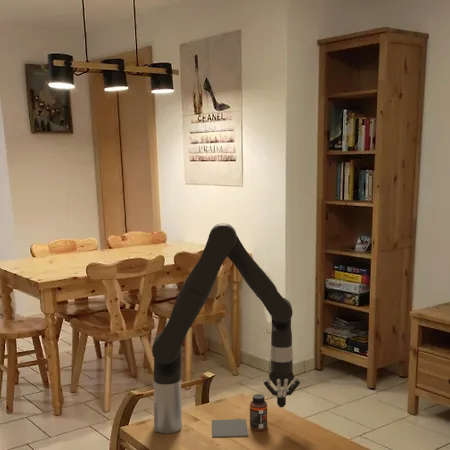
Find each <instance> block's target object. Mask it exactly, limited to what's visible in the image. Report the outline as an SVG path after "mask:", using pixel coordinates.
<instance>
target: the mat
mask: <svg viewBox="0 0 450 450" xmlns="http://www.w3.org/2000/svg"><path fill="white" fill-rule="evenodd" d="M211 432H212V433H211V435H212V438H214V439H216V438H240V437H241V438H244V437H247V438H248V437H249V432H248V424H247V419H246V418H236V419H235V418H233V419H230V418H229V419H211Z"/></svg>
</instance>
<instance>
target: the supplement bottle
mask: <svg viewBox="0 0 450 450" xmlns="http://www.w3.org/2000/svg"><path fill="white" fill-rule="evenodd" d="M249 426H250V429H251V430H252V431H255V432H256V431H257V432H263V431H265V430H267V428H268V403H267V401H266V400H265V395H264V394H261V393H255V394H253V395H252V400H251V401H250V403H249Z"/></svg>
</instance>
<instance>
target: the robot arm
mask: <svg viewBox="0 0 450 450" xmlns="http://www.w3.org/2000/svg"><path fill="white" fill-rule="evenodd" d="M227 258H228V259H229V260H230V261H231V263H232V264H233V265H234V266H235V268H236V269H237V271H238V272H239V274H240V276H241V277H242V279H243V280H244V281H245V283H246V284H247V286H248V287H249V288H250V290H251V291H252V292H253V293H254V294H255V296H256V297H257V298H258V299H259V300H260V302H261V303H262V304H263V306H264V307H265V309H266V311H267V312H268V314H269V315H270V316H271V335H270V340H271V341H270V355H269V356H270V357H269V358H270V359H269V361H270V364H269V365H270V373H269V374H268V377H267V378H264V379H263V380H262V381H263V385H264V386H265V387H266V389H267V390H268V391H269V392H270V393H271V395H272V396H273V397H274V396H276V404H277V406H278V407H279V408H284V407H285V406H286V405H287V404H286V403H287V402H286V401H287V399H286V398H287V397H288V396H291V395H292V394H293V393H294V392H295V391H296V389H297V388H298V387H299V386H300V384H301V382H300V379H299V378H298V377H295V374H294V373H293V372H294V371H293V367H294V363H293V361H294V359H293V358H294V357H293V333H292V331H293V330H292V317H293V307H292V304H291V302H290V301H289V300H288V299H287V298H284V297H283V295H282V294H280V292H279V291H278V288H277V287H276V284H274V282H273V281H272V280H271V278H270V277H269V276H268V275H267V273H266V272H265V271H264V270H263V269H262V267H260V265H259V264H258V263H257V262H256V260H254V258H253V257H252V256H251V255H250V253H249V252H248V251H247V249H246V248H245V247H244V245H243V243H242V242H241V240H240V238H239V236H238V234H237V232H236V229H235V228H234V226H232V225H231V224H228V223H225V222H224V223H218V224H216V225H214V226H213V227H212V228H211V230H210V232H209V233H208V238H207V241H206V243H205V246H204V248H203V251H202V253H201V255H200V258H199V260H198V261H197V263H196V264H195V265H194V267H193V268H192V270H191V271H190V273H189V274H188V276H187V277H186V279H185V280H184V282H183V284H182V286H181V288H180V291H179V293H178V295H177V296H176V299H175V302H174V305H173V308H172V310H171V313H170V316H169V319H168V321H167V323H166V326H165V327H164V329H163V330H162V331H161V332H160V333H159V334H157V335H156V336H155V338H154V340H153V343H152V348H151V353H152V354H151V355H152V357H153V397H154V398H153V400H154V401H153V425H154V426H153V428H154V429H153V431H154V432H155V433H156V432H157V433H161V434H173V433H174V434H175V433H177V432H179V431H181V429H182V428H183V423H182V422H183V418H182V417H183V416H182V410H183V409H182V373H181V372H182V355H181V354H182V352H181V351H182V347H183V343H184V341H185V339H186V336H187V334H188V332H189V331H190V329H191V327H192V325H193V324H194V322H195V321H196V319H197V317H198V316H199V314H200V313H201V310H202V309H203V307H204V305H205V303H206V301H207V300H208V298H209V296H210V294H211V291H212V289H213V287H214V286H215V285H214V284H215V282H216V279H217V277H218V274H219V271H220V270H221V267H222V265H223V263H224V262H225V261H226V260H227ZM271 383H272V384H273V386H275V387H276V388H275V389H276V390H275V389H274V387H273V386H272V384H271ZM291 383H292V384H291ZM288 386H289V387H288Z"/></svg>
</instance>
